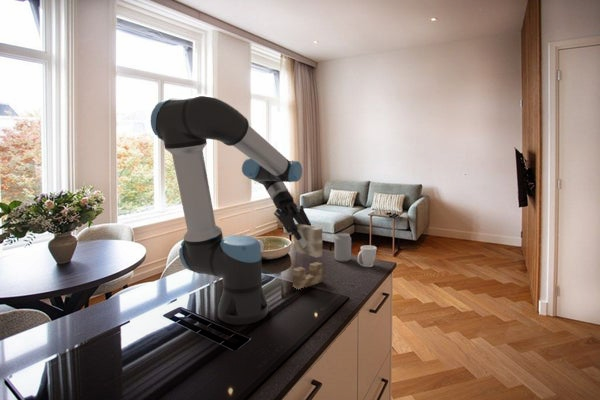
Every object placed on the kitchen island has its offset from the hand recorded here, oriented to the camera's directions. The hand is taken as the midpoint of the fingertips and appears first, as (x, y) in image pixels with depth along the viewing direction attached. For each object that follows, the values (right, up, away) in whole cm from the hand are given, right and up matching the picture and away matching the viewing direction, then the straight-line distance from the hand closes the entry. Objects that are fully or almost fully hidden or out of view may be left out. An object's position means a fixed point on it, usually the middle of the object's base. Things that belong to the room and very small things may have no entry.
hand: (309, 245), depth 123 cm
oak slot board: (-1, -15, +2) cm, 15 cm away
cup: (+25, -12, +23) cm, 36 cm away
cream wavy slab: (-1, -3, +1) cm, 3 cm away
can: (+16, -11, +32) cm, 37 cm away
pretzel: (-26, -11, +35) cm, 45 cm away
